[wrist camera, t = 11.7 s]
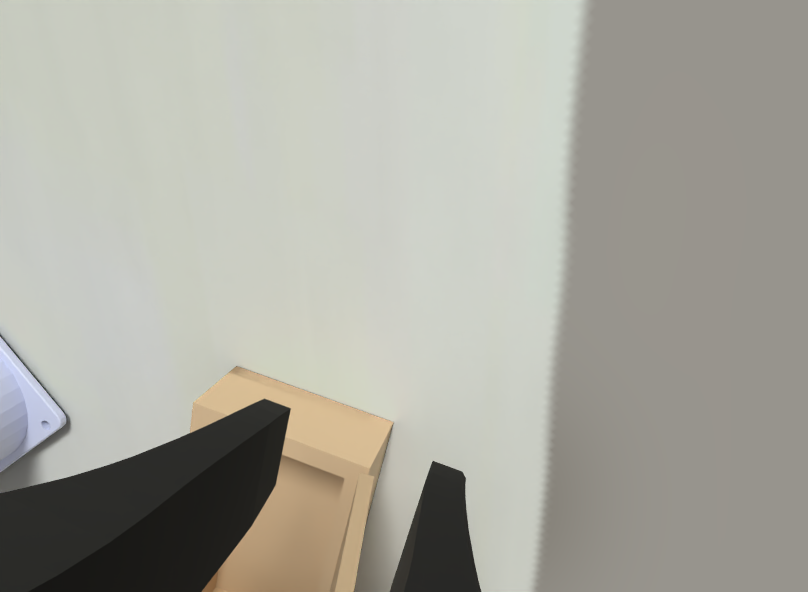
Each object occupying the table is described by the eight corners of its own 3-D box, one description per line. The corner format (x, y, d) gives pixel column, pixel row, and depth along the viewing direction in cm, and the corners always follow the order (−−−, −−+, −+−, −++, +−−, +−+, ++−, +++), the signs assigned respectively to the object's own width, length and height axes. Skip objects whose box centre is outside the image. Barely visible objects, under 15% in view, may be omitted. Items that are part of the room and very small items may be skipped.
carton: (206, 582, 29) (168, 635, 26) (236, 366, 24) (193, 402, 21) (334, 637, 28) (309, 698, 25) (393, 422, 23) (369, 468, 20)
